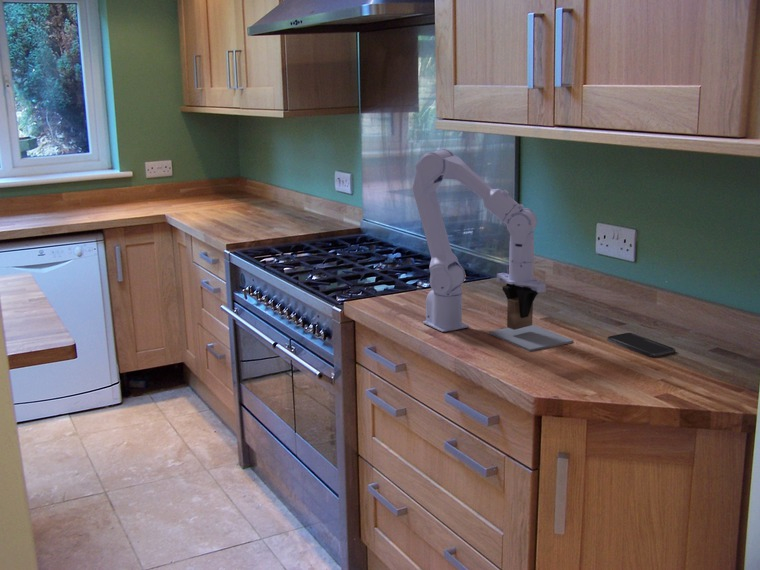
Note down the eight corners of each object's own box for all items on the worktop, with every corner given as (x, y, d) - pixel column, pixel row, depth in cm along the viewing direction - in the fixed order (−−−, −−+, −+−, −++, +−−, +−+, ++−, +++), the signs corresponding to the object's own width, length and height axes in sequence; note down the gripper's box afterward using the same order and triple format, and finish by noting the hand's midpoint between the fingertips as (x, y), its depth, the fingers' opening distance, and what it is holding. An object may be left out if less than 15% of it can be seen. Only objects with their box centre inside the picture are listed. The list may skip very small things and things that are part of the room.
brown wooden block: (506, 327, 199) (507, 299, 198) (524, 322, 203) (525, 295, 201) (514, 329, 197) (514, 301, 196) (532, 325, 201) (533, 297, 199)
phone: (652, 355, 183) (605, 336, 196) (651, 359, 183) (605, 341, 196) (678, 349, 187) (630, 332, 200) (677, 354, 187) (630, 336, 200)
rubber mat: (488, 333, 202) (488, 331, 202) (530, 325, 208) (530, 323, 208) (529, 351, 189) (529, 349, 189) (573, 342, 195) (573, 340, 195)
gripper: (488, 257, 200) (487, 311, 203) (531, 268, 188) (529, 325, 191) (509, 253, 203) (508, 306, 207) (552, 264, 192) (550, 320, 195)
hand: (519, 315), depth 199 cm, fingers closed on brown wooden block, 2 cm apart
